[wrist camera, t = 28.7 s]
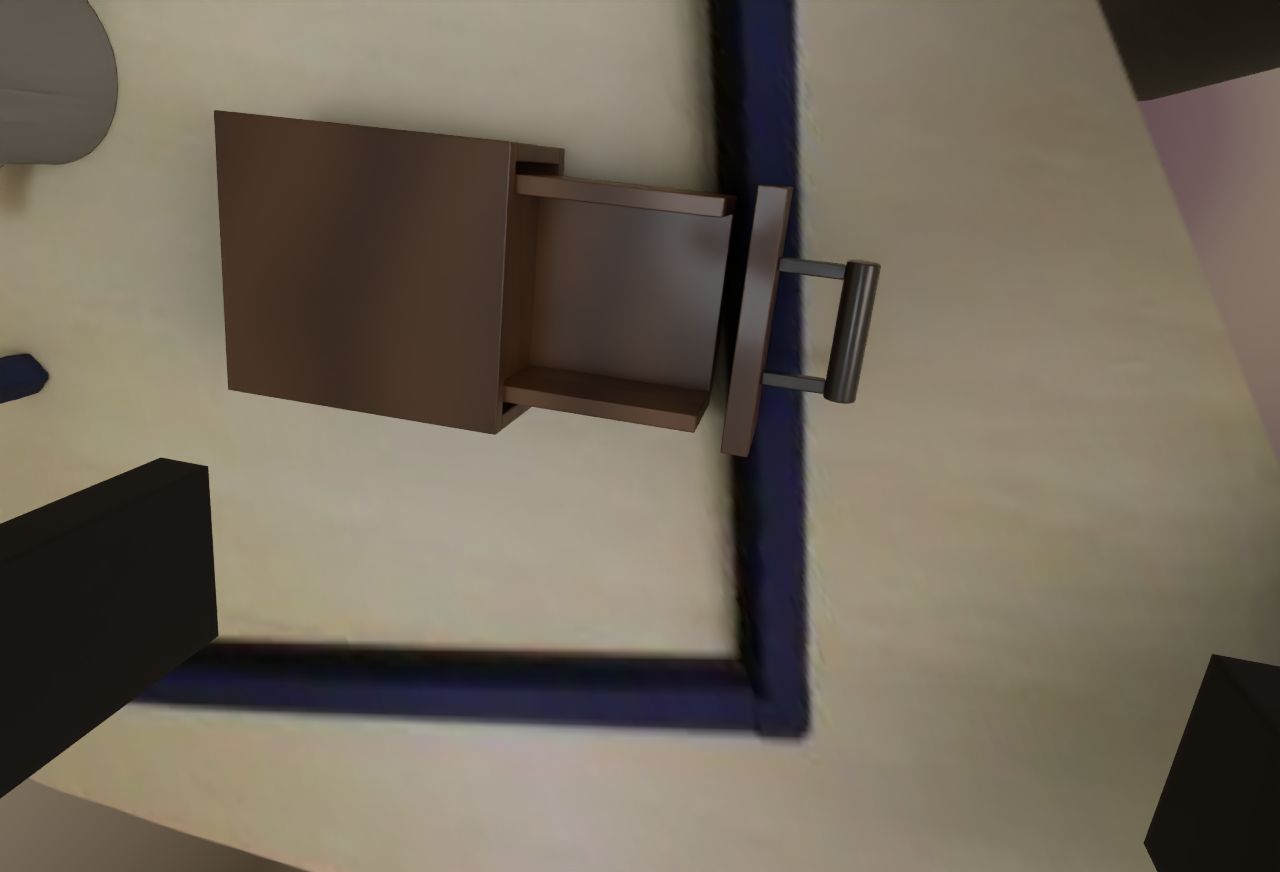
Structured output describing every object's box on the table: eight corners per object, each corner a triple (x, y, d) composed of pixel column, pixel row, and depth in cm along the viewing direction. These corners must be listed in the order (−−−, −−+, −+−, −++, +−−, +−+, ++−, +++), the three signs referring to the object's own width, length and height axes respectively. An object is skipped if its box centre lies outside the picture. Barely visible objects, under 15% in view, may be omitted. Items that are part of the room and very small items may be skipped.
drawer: (887, 197, 37) (898, 199, 32) (842, 435, 41) (845, 474, 36) (534, 158, 40) (489, 154, 35) (520, 385, 44) (477, 413, 38)
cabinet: (565, 148, 41) (511, 141, 34) (547, 395, 44) (495, 435, 37) (313, 121, 43) (213, 109, 36) (317, 359, 47) (227, 389, 40)
